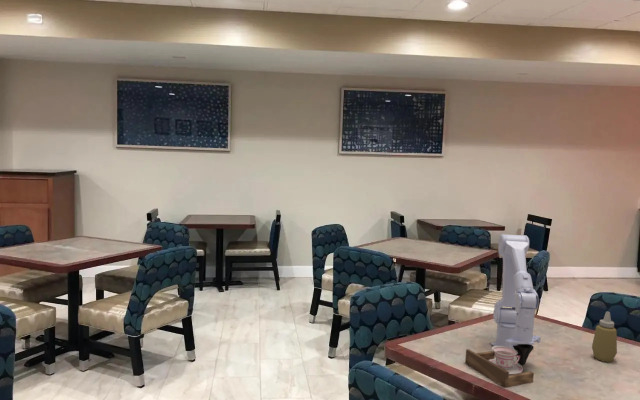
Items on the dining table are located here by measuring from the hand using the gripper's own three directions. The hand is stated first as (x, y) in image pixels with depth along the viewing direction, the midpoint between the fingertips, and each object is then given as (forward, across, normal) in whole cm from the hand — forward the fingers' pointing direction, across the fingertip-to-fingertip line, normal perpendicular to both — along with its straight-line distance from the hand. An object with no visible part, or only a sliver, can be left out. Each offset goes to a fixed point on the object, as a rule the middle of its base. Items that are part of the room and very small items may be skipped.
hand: (521, 364), depth 162 cm
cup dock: (+1, -10, 0) cm, 11 cm away
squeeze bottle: (+2, +37, -4) cm, 37 cm away
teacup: (+2, -6, +2) cm, 6 cm away
